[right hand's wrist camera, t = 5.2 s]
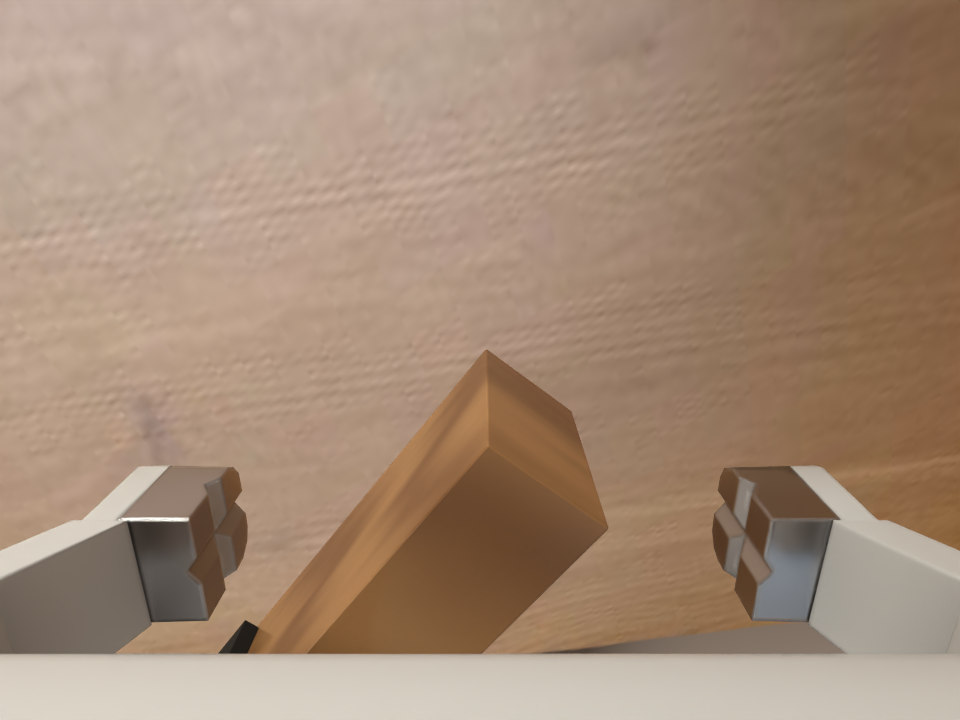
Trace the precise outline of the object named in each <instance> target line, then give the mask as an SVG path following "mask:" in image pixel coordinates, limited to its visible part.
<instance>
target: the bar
mask: <svg viewBox="0 0 960 720" xmlns="http://www.w3.org/2000/svg"><path fill="white" fill-rule="evenodd" d="M607 529H608V525H607V522H606V519H605V516H604V513H603V510H602V506H601V503H600V500H599V497H598V494H597V491H596V488H595V484H594V481H593V478H592V475H591V472H590V469H589V466H588V462H587V459H586V456H585V453H584V450H583V447H582V444H581V440H580V437H579V434H578V431H577V428H576V425H575V422H574V418H573V415H572V412H571V411H570V410H569V409H568V408H566V407H565V406H563V405H562V404H561V403H559V402H558V401H557V400H555V399H554V398H552V397H551V396H550V395H548V394H547V393H546V392H544V391H543V390H542V389H540V388H539V387H537V386H536V385H535V384H533V383H532V382H531V381H529V380H528V379H527V378H525V377H524V376H522V375H521V374H520V373H518V372H517V371H516V370H514V369H513V368H512V367H510V366H509V365H507V364H506V363H505V362H503V361H502V360H501V359H499V358H498V357H496V356H495V355H494V354H492V353H491V352H490V351H488V350H485V351H484V352H483V354H482V355H481V356H480V357H479V358H478V360H477V361H476V362H475V363H474V364H473V366H472V367H471V368H470V369H469V371H468V372H467V373H466V374H465V375H464V377H463V378H462V379H461V380H460V381H459V383H458V384H457V385H456V386H455V387H454V389H453V390H452V391H451V392H450V394H449V395H448V396H447V397H446V398H445V400H444V401H443V402H442V403H441V404H440V406H439V407H438V408H437V409H436V411H435V412H434V413H433V414H432V415H431V417H430V418H429V419H428V420H427V421H426V423H425V424H424V425H423V426H422V428H421V429H420V430H419V431H418V432H417V434H416V435H415V436H414V437H413V438H412V440H411V441H410V442H409V443H408V444H407V446H406V447H405V448H404V449H403V451H402V452H401V453H400V454H399V455H398V457H397V458H396V459H395V460H394V461H393V463H392V464H391V465H390V466H389V468H388V469H387V470H386V471H385V472H384V474H383V475H382V476H381V477H380V478H379V480H378V481H377V482H376V483H375V485H374V486H373V487H372V488H371V489H370V491H369V492H368V493H367V494H366V495H365V497H364V498H363V499H362V500H361V501H360V503H359V504H358V505H357V506H356V508H355V509H354V510H353V511H352V512H351V514H350V515H349V516H348V517H347V518H346V520H345V521H344V522H343V523H342V525H341V526H340V527H339V528H338V529H337V531H336V532H335V533H334V534H333V535H332V537H331V538H330V539H329V540H328V542H327V543H326V544H325V545H324V546H323V548H322V549H321V550H320V551H319V552H318V554H317V555H316V556H315V557H314V558H313V560H312V561H311V562H310V563H309V565H308V566H307V567H306V568H305V569H304V571H303V572H302V573H301V574H300V575H299V577H298V578H297V579H296V580H295V582H294V583H293V584H292V585H291V586H290V588H289V589H288V590H287V591H286V592H285V594H284V595H283V596H282V597H281V599H280V600H279V601H278V602H277V603H276V605H275V606H274V607H273V608H272V609H271V611H270V612H269V613H268V614H267V615H266V617H265V618H264V619H263V620H262V622H261V623H260V624H259V625H258V626H257V627H259V629H258V631H257V634H256V636H255V638H254V640H253V642H252V645H251V647H250V649H249V651H248V653H247V654H482V653H483V652H484V651H485V650H486V649H487V648H488V647H489V646H490V645H491V644H492V643H493V642H494V641H495V640H496V639H497V638H498V637H499V636H500V635H501V634H502V633H503V632H504V631H505V630H506V629H507V628H508V627H509V626H510V625H511V624H512V623H513V622H514V621H515V620H516V619H517V618H518V617H519V616H520V615H521V614H522V613H523V612H524V611H525V610H526V609H527V608H528V607H529V606H530V605H532V604H533V603H534V602H535V601H536V600H537V599H538V598H539V597H540V596H541V595H542V594H543V593H544V592H545V591H546V590H547V589H548V588H549V587H550V586H551V585H552V584H553V583H554V582H555V581H556V580H557V579H558V578H559V577H560V576H561V575H562V574H563V573H564V572H565V571H566V570H567V569H568V568H569V567H570V566H571V565H572V564H573V563H574V562H575V561H576V560H577V559H578V558H579V557H580V556H581V555H582V554H583V553H584V552H585V551H586V550H587V549H588V548H589V547H590V546H591V545H592V544H593V543H594V542H595V541H596V540H597V539H598V538H599V537H601V536H602V535H603V534H604V533H605V532H606V531H607Z"/></svg>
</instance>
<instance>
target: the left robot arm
mask: <svg viewBox="0 0 960 720" xmlns="http://www.w3.org/2000/svg"><path fill="white" fill-rule="evenodd" d="M258 629H259V627H257V626H255V625H253V624H251V623H249V622H248V621H246V620H245V621H244V622H243V624H242V625H241V626H240V627H239V629H238V630H237V631H236V632H235V634H234V635H233V636H232V637H231V638H230V640H229V641H228V642H227V643H226V645H225V646H224V647H223V648H222V650H221V651H220V652H219V653H218V654H247V653H248V651H249V649H250V647H251V645H252V642H253V640H254V638H255V636H256V634H257V631H258Z"/></svg>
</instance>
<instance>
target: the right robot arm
mask: <svg viewBox="0 0 960 720" xmlns="http://www.w3.org/2000/svg"><path fill="white" fill-rule="evenodd" d="M241 491H242V488H241V483H240V478H239V473H238V472H237V471H236V470H235V469H234V468H233V467H201V466H174V467H173V466H171V465H168V466H143V467H138V468H137V469H136V470H134V471H133V472H132V473H131V474H130V475H129V476H128V477H127V478H126V479H125V480H124V481H123V482H122V483H121V484H120V485H119V486H118V487H117V488H116V489H114V490H113V491H112V492H111V493H110V494H109V495H108V496H107V497H106V498H105V499H104V500H103V501H102V502H101V503H100V504H99V505H98V506H97V507H95V508H94V509H93V510H92V511H91V512H90V513H89V514H88V515H87V516H86V517H85V518H84V519H83V520H72V521H69V522H67V523H64V524H62V525H60V526H57V527H55V528H53V529H50V530H48V531H46V532H43V533H41V534H39V535H36V536H34V537H31V538H29V539H27V540H24V541H22V542H20V543H17V544H15V545H13V546H10V547H8V548H6V549H3V550H1V551H0V720H960V551H959V550H957V549H954V548H952V547H950V546H947V545H945V544H943V543H940V542H938V541H935V540H933V539H931V538H928V537H926V536H924V535H921V534H919V533H917V532H914V531H912V530H910V529H907V528H905V527H903V526H900V525H898V524H895V523H893V522H891V521H888V520H877V519H876V518H875V517H874V516H873V515H872V514H871V513H870V512H869V511H868V510H867V509H866V508H865V507H864V506H862V505H861V504H860V503H859V502H858V501H857V500H856V499H855V498H854V497H853V496H852V495H851V494H850V493H849V492H848V491H847V490H846V489H845V488H844V487H843V486H841V485H840V484H839V483H838V482H837V481H836V480H835V479H834V478H833V477H832V476H831V475H830V474H829V473H828V472H827V471H826V470H825V469H824V468H822V467H819V466H816V465H809V466H775V467H734V468H724V470H723V472H722V475H721V477H720V482H719V488H718V491H719V493H720V494H721V496H722V497H723V499H724V500H725V503H724V504H723V505H722V506H721V507H720V508H719V509H718V510H717V511H716V512H715V513H714V521H713V529H712V533H713V543H714V549H715V552H716V556H717V559H718V561H719V563H720V565H721V566H722V568H723V570H724V571H726V572H727V573H729V574H730V575H732V576H733V577H735V578H736V583H735V589H734V590H735V591H736V593H737V595H738V597H739V598H740V600H741V602H742V604H743V605H744V607H745V609H746V611H747V612H748V614H749V616H750V618H751V619H752V621H784V622H809V624H808V625H809V626H811V627H812V628H813V629H815V630H816V631H817V632H818V633H820V634H821V635H822V636H824V637H825V638H826V639H828V640H829V641H830V642H832V643H833V644H834V645H836V646H837V647H838V648H839V649H841V650H842V651H843V652H845V653H846V654H114V653H116V652H117V651H118V650H120V649H121V648H122V647H123V646H125V645H126V644H127V643H129V642H130V641H131V640H133V639H134V638H135V637H137V636H138V635H139V634H140V633H142V632H143V631H144V630H146V629H147V628H148V627H150V626H151V622H175V621H208V620H209V618H210V616H211V614H212V613H213V611H214V609H215V607H216V606H217V604H218V602H219V600H220V599H221V597H222V595H223V593H224V591H225V590H226V589H225V583H224V578H225V577H227V576H228V575H230V574H231V573H233V572H234V571H236V570H237V568H238V566H239V565H240V563H241V561H242V559H243V556H244V552H245V548H246V544H247V519H246V513H245V512H244V511H243V510H242V509H241V508H240V507H239V506H238V505H237V504H236V503H235V500H236V499H237V497H238V496H239V494H240V493H241Z"/></svg>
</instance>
